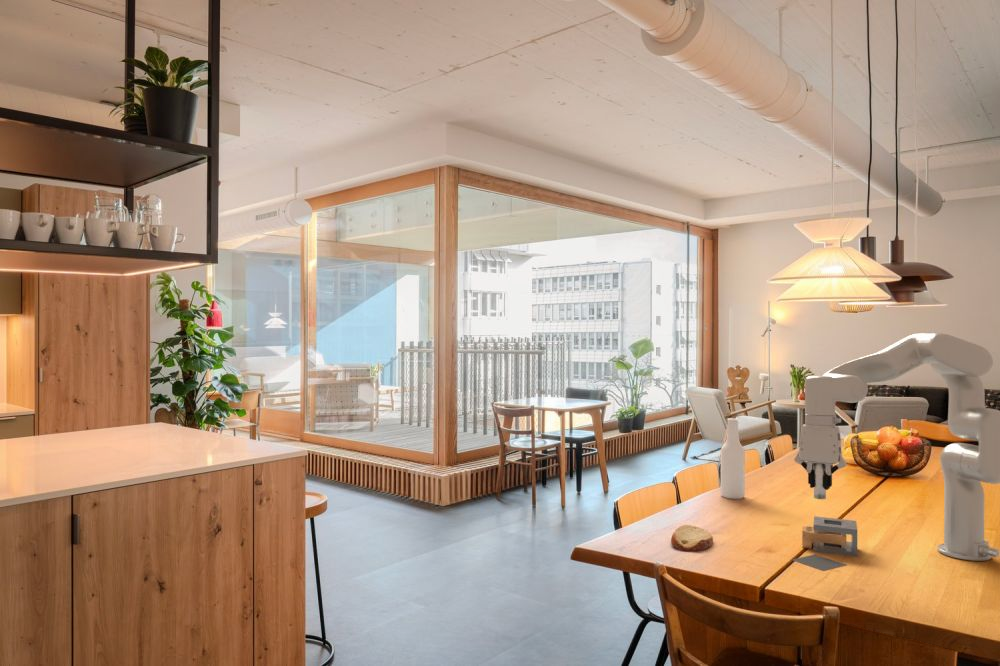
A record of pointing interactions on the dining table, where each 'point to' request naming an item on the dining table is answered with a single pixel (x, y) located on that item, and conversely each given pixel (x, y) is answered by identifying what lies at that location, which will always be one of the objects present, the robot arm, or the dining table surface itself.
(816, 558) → the mat
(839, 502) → the dining table surface
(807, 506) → the dining table surface
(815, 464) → the pin
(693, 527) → the slice of bread
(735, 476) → the alcohol
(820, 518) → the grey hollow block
